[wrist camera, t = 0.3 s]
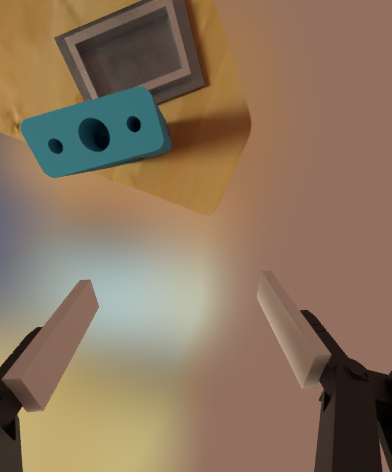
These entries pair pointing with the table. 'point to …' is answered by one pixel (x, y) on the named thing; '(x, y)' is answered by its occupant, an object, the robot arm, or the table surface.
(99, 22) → the grey rectangular tray
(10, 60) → the table surface
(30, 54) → the table surface
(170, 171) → the table surface
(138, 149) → the block
